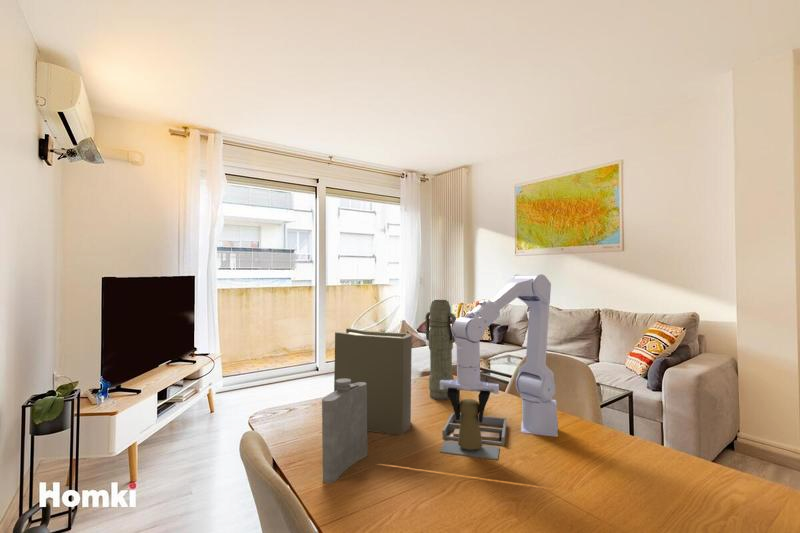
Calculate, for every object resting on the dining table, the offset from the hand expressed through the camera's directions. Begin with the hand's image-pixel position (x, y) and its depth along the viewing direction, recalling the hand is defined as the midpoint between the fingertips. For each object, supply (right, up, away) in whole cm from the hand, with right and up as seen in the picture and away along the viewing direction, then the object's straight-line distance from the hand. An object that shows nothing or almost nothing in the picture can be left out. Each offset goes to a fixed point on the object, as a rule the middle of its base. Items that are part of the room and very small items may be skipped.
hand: (469, 419), depth 97 cm
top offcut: (+3, -8, +7) cm, 11 cm away
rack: (+4, -8, +11) cm, 14 cm away
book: (-25, -9, +17) cm, 31 cm away
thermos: (-2, -9, +44) cm, 45 cm away
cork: (0, -7, +1) cm, 7 cm away
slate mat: (0, -8, 0) cm, 8 cm away
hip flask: (-30, -9, -6) cm, 32 cm away
